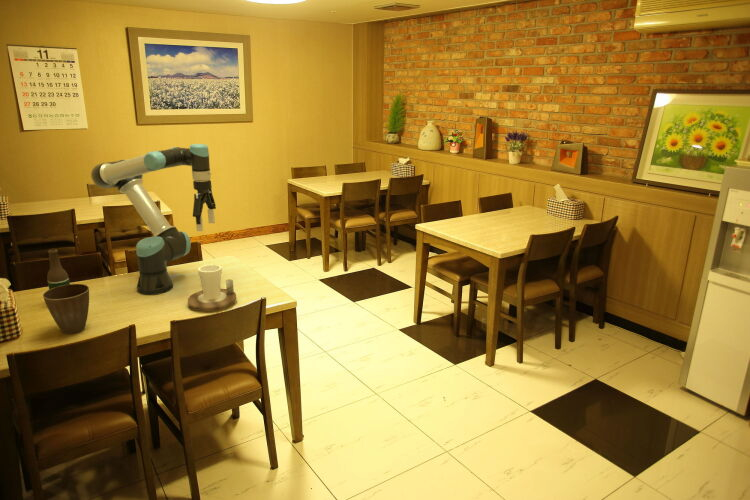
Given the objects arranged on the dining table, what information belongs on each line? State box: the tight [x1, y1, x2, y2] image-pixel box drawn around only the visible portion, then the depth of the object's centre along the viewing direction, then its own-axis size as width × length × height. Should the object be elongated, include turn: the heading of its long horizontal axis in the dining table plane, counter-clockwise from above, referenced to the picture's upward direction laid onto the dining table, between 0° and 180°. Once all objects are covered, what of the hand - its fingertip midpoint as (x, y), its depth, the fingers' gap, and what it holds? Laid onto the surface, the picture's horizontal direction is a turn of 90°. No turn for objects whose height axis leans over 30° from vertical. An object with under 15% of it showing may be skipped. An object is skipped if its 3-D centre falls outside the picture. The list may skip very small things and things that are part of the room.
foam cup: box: [197, 264, 223, 300], centre depth 218 cm, size 10×9×13 cm
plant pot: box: [42, 283, 90, 335], centre depth 193 cm, size 15×15×16 cm
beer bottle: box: [46, 248, 71, 290], centre depth 215 cm, size 8×8×24 cm
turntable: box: [187, 279, 237, 311], centre depth 219 cm, size 20×20×8 cm
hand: (206, 227), depth 231 cm, fingers open, 13 cm apart
